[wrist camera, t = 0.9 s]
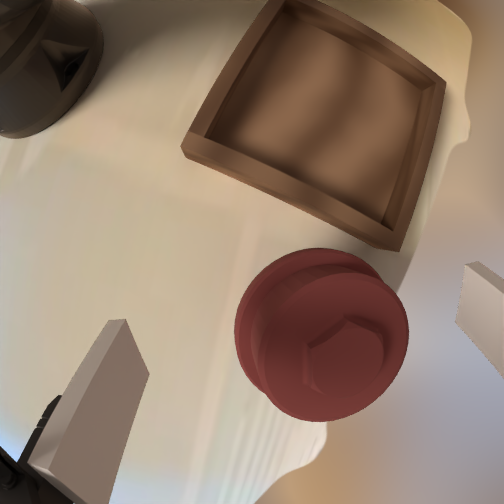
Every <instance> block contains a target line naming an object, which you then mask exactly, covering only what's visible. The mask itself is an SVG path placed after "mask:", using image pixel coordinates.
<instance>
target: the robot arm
mask: <svg viewBox="0 0 504 504" xmlns="http://www.w3.org/2000/svg"><path fill="white" fill-rule="evenodd" d="M102 51H103V33H102V30H101V28H100V26H99V24H98V22H97V20H96V19H95V17H94V15H93V14H92V13H91V11H90V10H88V9H87V8H86V7H85V6H83V5H81V4H80V3H78V2H76V1H74V0H0V135H1V136H3V137H6V138H11V139H17V138H24V137H28V136H30V135H33V134H35V133H38V132H39V131H41V130H43V129H45V128H46V127H48V126H49V125H51V124H52V123H54V122H55V121H56V120H57V119H59V118H60V117H61V116H62V115H63V114H64V113H65V112H66V111H67V110H68V109H69V108H70V107H71V106H72V105H73V104H74V103H75V102H76V101H77V100H78V98H79V97H80V96H81V94H82V93H83V92H84V90H85V89H86V87H87V86H88V84H89V83H90V81H91V79H92V78H93V76H94V74H95V72H96V70H97V67H98V65H99V62H100V59H101V55H102ZM455 322H456V324H457V325H458V326H459V327H460V328H461V329H462V330H463V331H464V333H465V334H466V335H467V336H468V337H469V338H470V339H471V340H472V342H474V344H475V345H476V346H477V347H478V348H479V349H480V351H481V352H482V353H483V354H484V355H485V357H486V358H487V359H488V360H489V361H490V362H491V364H492V365H493V366H494V367H495V368H496V370H497V371H498V372H499V373H500V375H501V376H502V377H503V378H504V279H502V278H501V277H499V276H498V275H497V274H495V273H494V272H492V271H491V270H490V269H488V268H487V267H485V266H484V265H483V264H481V263H480V262H474V263H470V264H466V265H465V270H464V277H463V283H462V290H461V295H460V301H459V306H458V311H457V316H456V320H455ZM148 377H149V372H148V369H147V367H146V365H145V363H144V361H143V359H142V356H141V354H140V352H139V350H138V347H137V345H136V343H135V340H134V338H133V336H132V333H131V331H130V328H129V326H128V323H127V321H126V319H119V320H109V321H108V322H107V324H106V325H105V327H104V328H103V330H102V331H101V333H100V334H99V336H98V337H97V339H96V341H95V342H94V344H93V345H92V347H91V349H90V350H89V352H88V353H87V355H86V357H85V358H84V360H83V361H82V363H81V365H80V366H79V368H78V370H77V371H76V373H75V375H74V376H73V378H72V380H71V381H70V383H69V385H68V387H67V388H66V390H65V392H64V393H63V395H58V396H57V397H56V398H55V399H54V400H53V401H52V402H51V403H50V404H49V405H48V406H47V408H46V410H45V411H44V413H43V415H42V419H40V420H39V422H38V424H37V428H35V429H34V431H33V433H32V435H31V437H30V439H29V441H28V442H27V444H26V446H25V448H24V450H23V452H22V454H21V456H20V458H19V460H18V461H17V462H16V461H14V460H13V459H12V458H11V457H10V456H9V454H8V453H7V452H6V451H5V450H4V449H3V448H2V447H1V446H0V504H73V503H75V504H109V500H110V497H111V493H112V489H113V486H114V482H115V479H116V475H117V472H118V469H119V465H120V462H121V459H122V455H123V452H124V449H125V446H126V443H127V439H128V436H129V433H130V430H131V427H132V424H133V421H134V418H135V415H136V412H137V409H138V406H139V403H140V400H141V397H142V394H143V391H144V388H145V386H146V383H147V380H148Z"/></svg>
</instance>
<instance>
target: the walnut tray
mask: <svg viewBox="0 0 504 504" xmlns="http://www.w3.org/2000/svg"><path fill="white" fill-rule="evenodd" d="M445 88H446V81H445V80H443V79H442V78H441V77H440V76H438V75H437V74H436V73H435V72H433V71H432V70H431V69H430V68H428V67H427V66H426V65H424V64H423V63H422V62H420V61H419V60H418V59H416V58H415V57H414V56H412V55H411V54H409V53H408V52H407V51H405V50H404V49H402V48H401V47H399V46H398V45H396V44H395V43H393V42H392V41H390V40H389V39H387V38H385V37H384V36H382V35H381V34H379V33H377V32H376V31H374V30H372V29H371V28H369V27H367V26H366V25H364V24H362V23H360V22H359V21H357V20H355V19H353V18H351V17H349V16H348V15H346V14H344V13H342V12H340V11H338V10H336V9H334V8H332V7H330V6H328V5H326V4H324V3H321V2H319V1H317V0H269V1H268V2H267V3H266V5H265V6H264V7H263V9H262V10H261V12H260V13H259V15H258V16H257V17H256V19H255V20H254V22H253V23H252V25H251V26H250V28H249V29H248V30H247V32H246V33H245V35H244V36H243V38H242V40H241V41H240V43H239V44H238V46H237V47H236V49H235V50H234V52H233V54H232V55H231V57H230V58H229V60H228V62H227V63H226V65H225V66H224V68H223V70H222V71H221V73H220V75H219V76H218V78H217V80H216V81H215V83H214V85H213V87H212V88H211V90H210V92H209V93H208V95H207V97H206V99H205V101H204V102H203V104H202V106H201V108H200V110H199V111H198V113H197V115H196V117H195V119H194V121H193V123H192V124H191V126H190V128H189V130H188V132H187V134H186V136H185V138H184V140H183V142H182V144H181V149H182V151H183V153H184V155H185V157H186V158H188V159H190V160H193V161H195V162H198V163H200V164H202V165H205V166H207V167H209V168H212V169H214V170H216V171H219V172H221V173H223V174H225V175H228V176H230V177H232V178H234V179H237V180H239V181H241V182H243V183H245V184H248V185H250V186H252V187H254V188H256V189H259V190H261V191H263V192H265V193H267V194H269V195H272V196H274V197H276V198H278V199H280V200H282V201H284V202H286V203H288V204H290V205H293V206H295V207H297V208H299V209H301V210H303V211H305V212H307V213H309V214H311V215H313V216H315V217H317V218H319V219H321V220H323V221H325V222H327V223H329V224H331V225H333V226H335V227H337V228H339V229H341V230H343V231H345V232H347V233H348V234H350V235H352V236H354V237H356V238H358V239H360V240H362V241H364V242H366V243H367V244H369V245H371V246H373V247H375V248H377V249H383V250H389V251H395V252H399V251H400V248H401V245H402V243H403V240H404V237H405V235H406V232H407V229H408V226H409V224H410V221H411V218H412V215H413V212H414V209H415V206H416V203H417V200H418V197H419V194H420V191H421V187H422V184H423V181H424V177H425V174H426V170H427V167H428V163H429V160H430V156H431V152H432V148H433V144H434V140H435V136H436V132H437V128H438V123H439V119H440V114H441V109H442V104H443V99H444V94H445Z"/></svg>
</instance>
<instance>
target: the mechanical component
mask: <svg viewBox="0 0 504 504" xmlns="http://www.w3.org/2000/svg"><path fill="white" fill-rule="evenodd" d="M234 335H235V345H236V350H237V355H238V358H239V361H240V364H241V367H242V369H243V370H244V372H245V374H246V376H247V377H248V378H249V380H250V381H251V382H252V383H253V384H254V385H255V386H256V387H257V388H258V389H259V390H260V391H262V392H263V393H265V394H266V395H267V397H268V398H269V399H270V400H271V402H272V403H273V404H274V405H275V406H276V407H277V408H279V409H280V410H281V411H282V412H284V413H286V414H288V415H290V416H291V417H294V418H297V419H300V420H305V421H311V422H326V421H334V420H337V419H341V418H345V417H347V416H350V415H352V414H354V413H357V412H359V411H360V410H362V409H364V408H366V407H367V406H368V405H370V404H371V403H373V402H374V401H375V400H376V399H377V398H378V397H379V396H381V395H382V394H383V393H384V392H385V390H386V389H387V388H388V387H389V386H390V384H391V383H392V382H393V380H394V379H395V377H396V375H397V374H398V372H399V370H400V368H401V366H402V364H403V361H404V358H405V355H406V351H407V346H408V339H409V327H408V320H407V315H406V311H405V309H404V307H403V305H402V302H401V301H400V299H399V298H398V296H397V295H396V293H395V292H394V291H393V290H392V289H391V288H390V287H389V286H388V285H386V284H385V283H384V282H383V280H382V279H381V278H380V276H379V275H378V273H377V272H376V271H375V270H374V269H373V268H372V267H371V266H370V265H369V264H367V263H366V262H365V261H363V260H362V259H360V258H358V257H356V256H354V255H352V254H349V253H346V252H343V251H338V250H334V249H327V248H308V249H303V250H299V251H295V252H292V253H290V254H287V255H285V256H283V257H281V258H279V259H277V260H275V261H274V262H272V263H271V264H270V265H268V266H267V267H266V268H264V269H263V270H262V271H261V272H260V273H259V274H258V275H257V276H256V277H255V279H254V280H253V281H252V282H251V284H250V285H249V286H248V288H247V290H246V291H245V293H244V295H243V297H242V299H241V301H240V304H239V306H238V309H237V314H236V318H235V327H234Z"/></svg>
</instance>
